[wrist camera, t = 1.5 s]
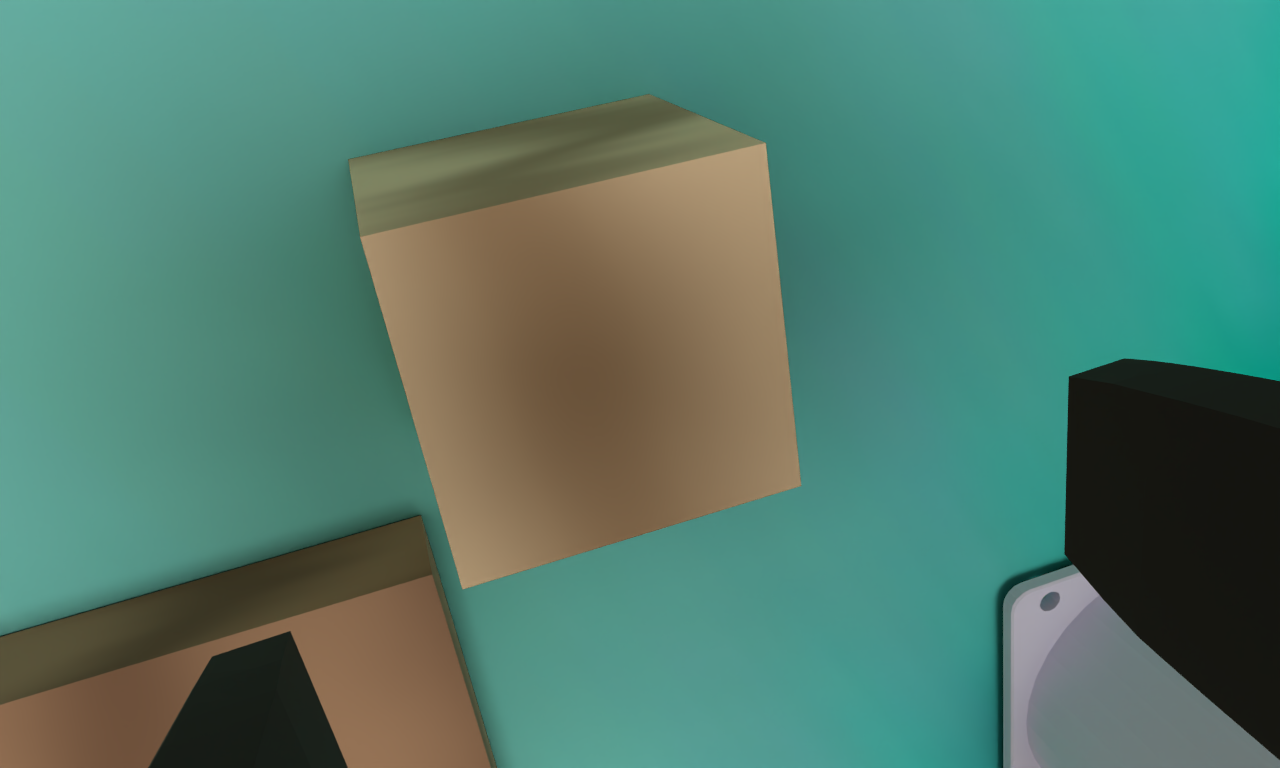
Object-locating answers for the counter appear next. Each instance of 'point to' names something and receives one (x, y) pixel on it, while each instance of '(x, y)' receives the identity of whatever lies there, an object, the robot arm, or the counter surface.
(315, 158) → the counter surface
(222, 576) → the walnut base
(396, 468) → the counter surface
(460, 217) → the maple cube
